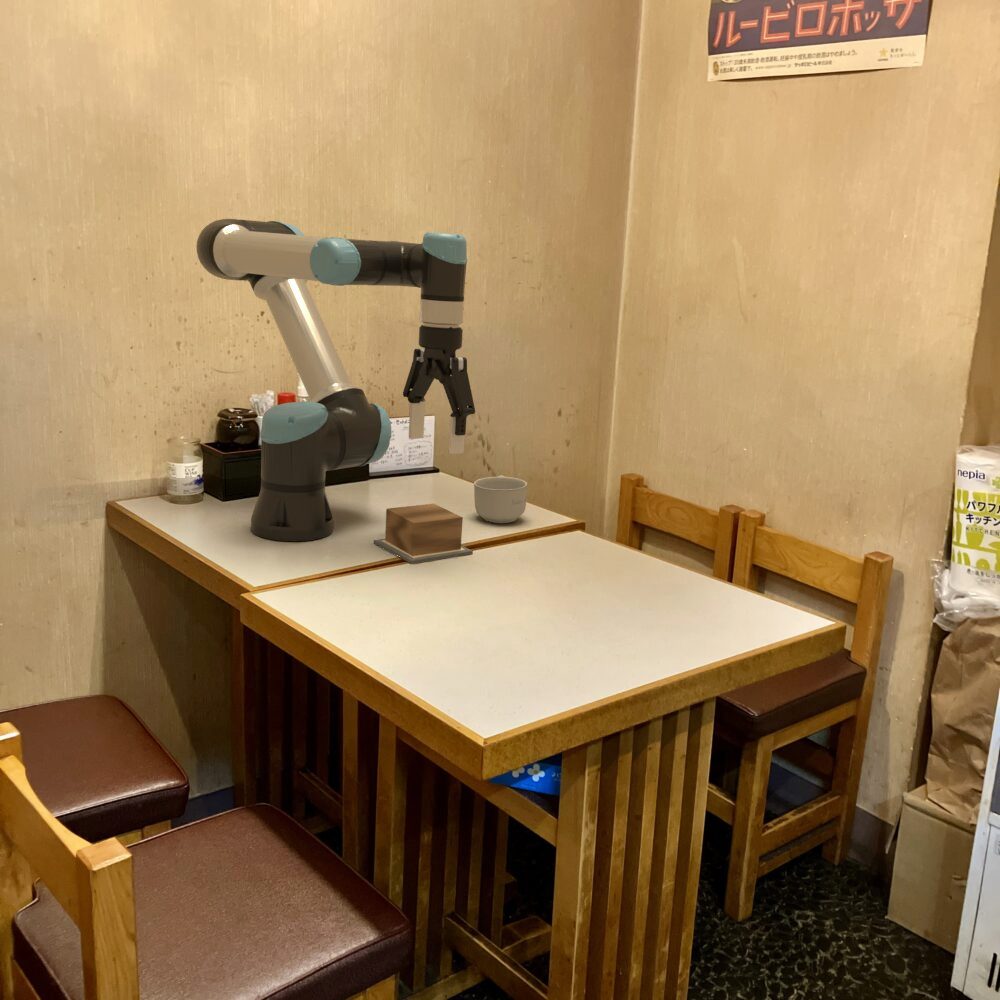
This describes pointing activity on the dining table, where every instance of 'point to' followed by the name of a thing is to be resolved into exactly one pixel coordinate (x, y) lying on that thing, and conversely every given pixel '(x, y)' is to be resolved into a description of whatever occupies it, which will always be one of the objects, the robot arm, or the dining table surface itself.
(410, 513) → the brown wooden block
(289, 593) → the dining table surface
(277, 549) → the dining table surface
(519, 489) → the teacup
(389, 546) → the mat
